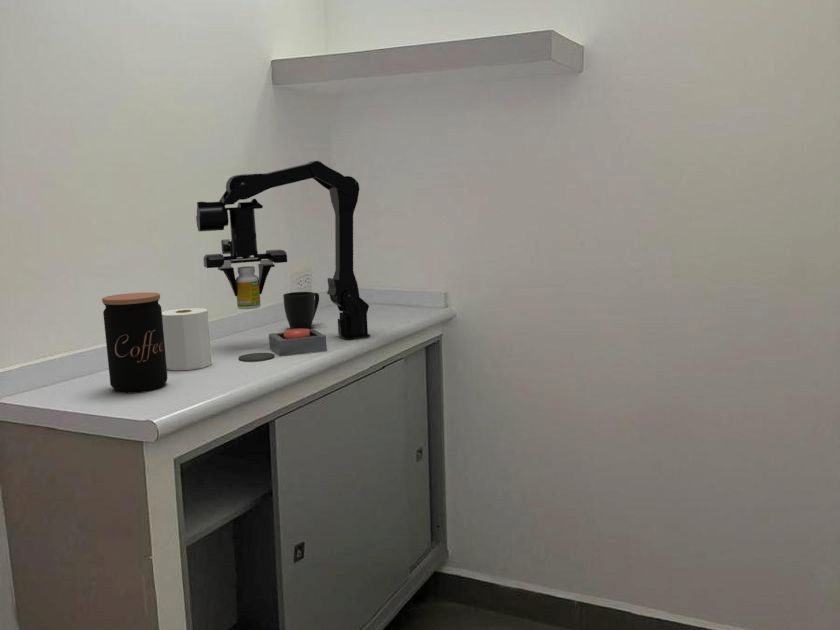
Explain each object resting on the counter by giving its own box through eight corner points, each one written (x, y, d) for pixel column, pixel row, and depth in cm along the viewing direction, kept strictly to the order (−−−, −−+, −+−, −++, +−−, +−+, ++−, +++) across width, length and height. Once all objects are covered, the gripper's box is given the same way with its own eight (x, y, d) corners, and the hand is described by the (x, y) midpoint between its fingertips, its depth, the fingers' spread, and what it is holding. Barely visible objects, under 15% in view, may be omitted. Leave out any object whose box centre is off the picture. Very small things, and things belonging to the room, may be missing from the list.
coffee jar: (112, 396, 156) (103, 301, 153) (109, 385, 166) (100, 295, 163) (171, 389, 160) (163, 296, 158) (164, 378, 170) (156, 290, 167)
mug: (331, 324, 229) (329, 290, 228) (302, 332, 219) (299, 296, 218) (308, 323, 234) (306, 289, 232) (279, 330, 224) (276, 295, 223)
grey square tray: (314, 343, 202) (313, 329, 202) (326, 350, 192) (326, 335, 192) (269, 348, 198) (268, 333, 198) (279, 356, 188) (278, 340, 188)
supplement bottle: (255, 309, 195) (252, 268, 193) (233, 309, 196) (230, 268, 194) (264, 306, 200) (261, 265, 199) (243, 306, 201) (240, 266, 200)
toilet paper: (176, 361, 188) (171, 308, 186) (219, 360, 186) (215, 307, 184) (155, 371, 178) (149, 315, 176) (200, 370, 176) (195, 314, 174)
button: (306, 337, 199) (306, 327, 198) (313, 341, 193) (312, 331, 193) (281, 340, 197) (281, 330, 196) (287, 344, 191) (286, 333, 191)
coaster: (270, 352, 192) (270, 351, 192) (278, 359, 185) (278, 357, 185) (235, 356, 189) (235, 355, 189) (242, 363, 182) (241, 361, 182)
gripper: (275, 225, 206) (279, 288, 208) (198, 230, 199) (203, 295, 202) (285, 227, 196) (289, 292, 198) (204, 231, 189) (210, 300, 191)
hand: (248, 295), depth 198 cm, fingers closed on supplement bottle, 5 cm apart
